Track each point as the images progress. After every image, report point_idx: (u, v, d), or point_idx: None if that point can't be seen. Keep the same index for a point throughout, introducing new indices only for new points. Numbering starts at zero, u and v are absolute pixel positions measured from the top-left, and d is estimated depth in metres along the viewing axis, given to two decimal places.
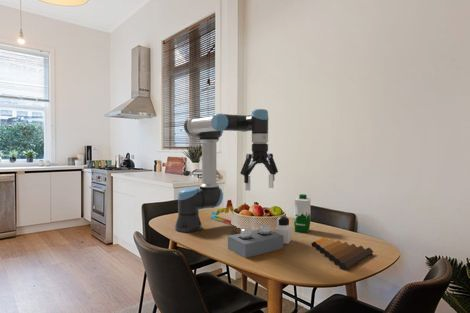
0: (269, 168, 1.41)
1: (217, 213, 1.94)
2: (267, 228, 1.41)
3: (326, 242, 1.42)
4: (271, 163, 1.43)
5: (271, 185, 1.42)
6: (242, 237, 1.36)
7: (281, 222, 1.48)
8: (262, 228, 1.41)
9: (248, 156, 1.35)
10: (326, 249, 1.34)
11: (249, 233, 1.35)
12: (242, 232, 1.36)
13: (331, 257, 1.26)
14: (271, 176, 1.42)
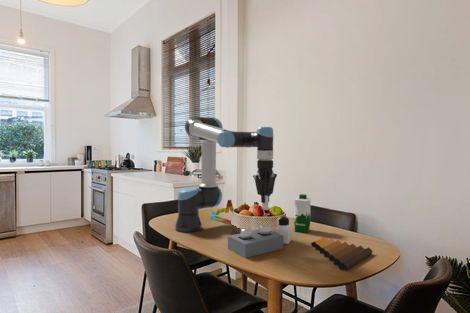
0: (267, 187, 1.42)
1: (217, 213, 1.94)
2: (267, 228, 1.41)
3: (326, 242, 1.42)
4: (271, 182, 1.44)
5: None
6: (242, 237, 1.36)
7: (281, 222, 1.48)
8: (262, 228, 1.41)
9: (256, 178, 1.39)
10: (326, 249, 1.34)
11: (249, 233, 1.35)
12: (242, 232, 1.36)
13: (331, 257, 1.26)
14: None
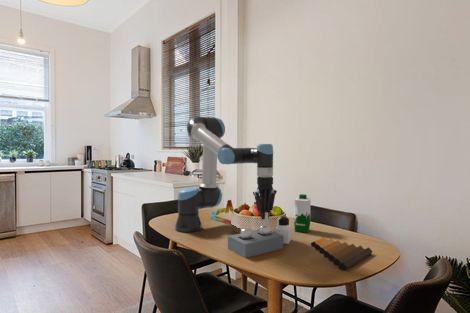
0: (267, 203, 1.43)
1: (217, 213, 1.94)
2: (267, 229, 1.41)
3: (325, 242, 1.42)
4: (271, 199, 1.45)
5: None
6: (242, 237, 1.36)
7: (281, 222, 1.48)
8: (262, 229, 1.41)
9: (255, 195, 1.39)
10: (325, 249, 1.34)
11: (249, 233, 1.35)
12: (242, 232, 1.36)
13: (330, 257, 1.26)
14: None
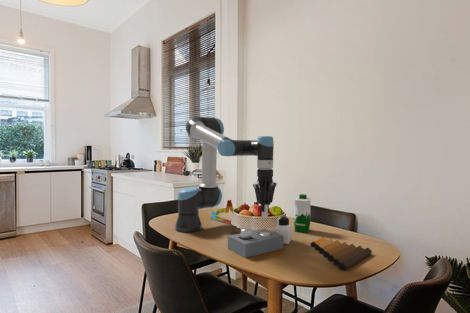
0: (267, 196, 1.43)
1: (217, 213, 1.94)
2: None
3: (325, 242, 1.42)
4: (270, 191, 1.45)
5: None
6: (242, 237, 1.36)
7: (281, 222, 1.48)
8: None
9: (255, 187, 1.39)
10: (325, 249, 1.34)
11: (249, 233, 1.35)
12: (242, 232, 1.36)
13: (330, 257, 1.25)
14: None
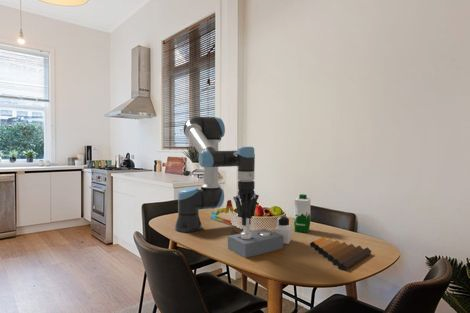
0: (248, 209, 1.36)
1: (217, 213, 1.94)
2: None
3: (324, 242, 1.42)
4: (252, 204, 1.39)
5: None
6: None
7: (281, 222, 1.48)
8: None
9: (236, 200, 1.33)
10: (324, 249, 1.34)
11: (249, 236, 1.35)
12: (242, 235, 1.36)
13: (330, 257, 1.25)
14: None
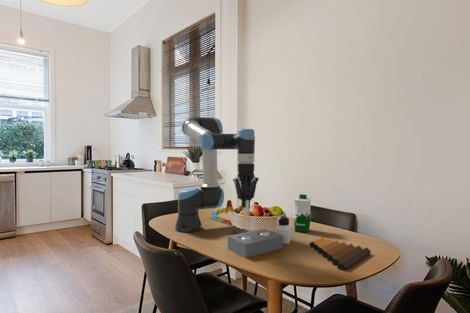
0: (248, 191, 1.37)
1: (217, 213, 1.94)
2: None
3: (324, 242, 1.42)
4: (252, 186, 1.39)
5: None
6: None
7: (281, 222, 1.48)
8: None
9: (235, 182, 1.34)
10: (324, 249, 1.34)
11: None
12: None
13: (329, 257, 1.25)
14: None
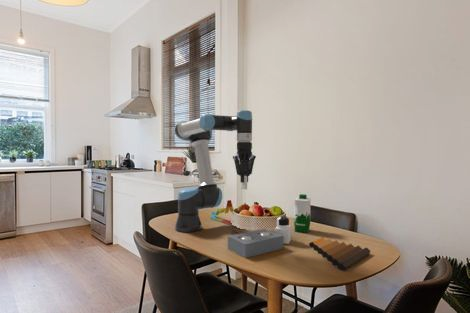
0: (246, 167, 1.50)
1: (217, 213, 1.94)
2: None
3: (323, 242, 1.42)
4: (250, 164, 1.52)
5: None
6: None
7: (281, 222, 1.48)
8: None
9: (235, 158, 1.47)
10: (324, 249, 1.34)
11: None
12: None
13: (329, 257, 1.25)
14: None
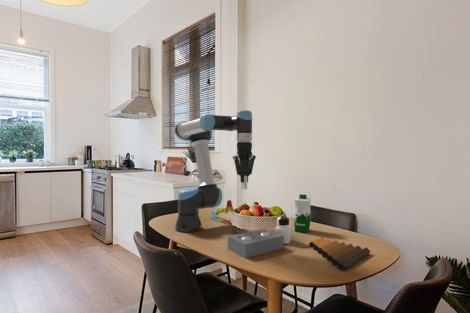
0: (246, 167, 1.50)
1: (217, 213, 1.94)
2: None
3: (323, 242, 1.42)
4: (250, 164, 1.52)
5: None
6: None
7: (281, 222, 1.48)
8: None
9: (235, 158, 1.47)
10: (324, 249, 1.34)
11: None
12: None
13: (329, 257, 1.25)
14: None
